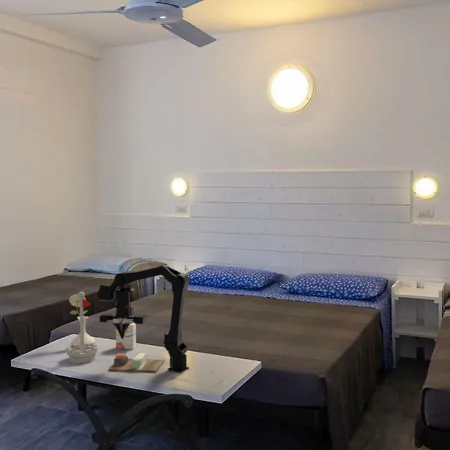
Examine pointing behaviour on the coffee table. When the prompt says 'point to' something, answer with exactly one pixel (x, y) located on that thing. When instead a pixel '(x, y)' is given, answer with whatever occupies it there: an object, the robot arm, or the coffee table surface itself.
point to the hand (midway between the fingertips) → (122, 338)
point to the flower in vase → (76, 302)
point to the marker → (139, 360)
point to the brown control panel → (126, 365)
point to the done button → (121, 356)
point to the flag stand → (82, 340)
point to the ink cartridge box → (127, 338)
